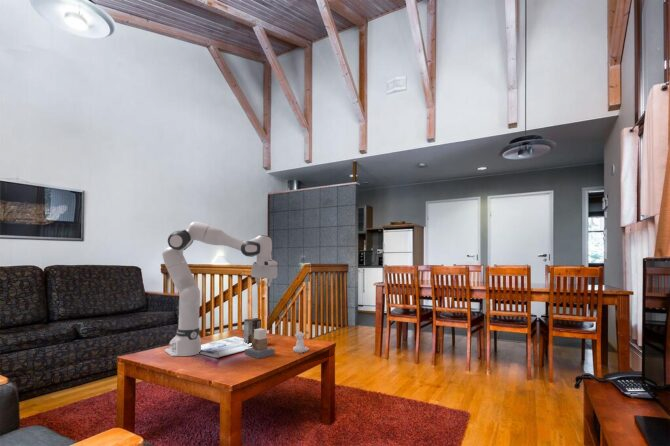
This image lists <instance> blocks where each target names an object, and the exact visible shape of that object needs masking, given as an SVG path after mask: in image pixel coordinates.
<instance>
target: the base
mask: <svg viewBox="0 0 670 446" xmlns="http://www.w3.org/2000/svg"><path fill="white" fill-rule="evenodd" d="M275 350H276V349H275V348H272V347H268V346H267V349H264V350H260V351H258V350H254V349H252V347H250V348H249V347H248V348H246V349H245V348H244V356H247V357H251V358H254V359H258V360H259V359H264V358H266V357H269V356H270V357H271V356H274V355H275V353H276V352H275Z"/></svg>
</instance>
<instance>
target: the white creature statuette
mask: <svg viewBox="0 0 670 446" xmlns="http://www.w3.org/2000/svg"><path fill="white" fill-rule="evenodd" d="M304 335H305V334H304V333H303V332H302V331H297V332H296V333H295V334H294V337H295V339H297V340H296V342H295V346H293V348H292V351H293V352H295V353H296V354H303V352H304V353H307V352H308V351H309V348H310V347H308V346H305V341H304V337H305V336H304Z"/></svg>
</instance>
